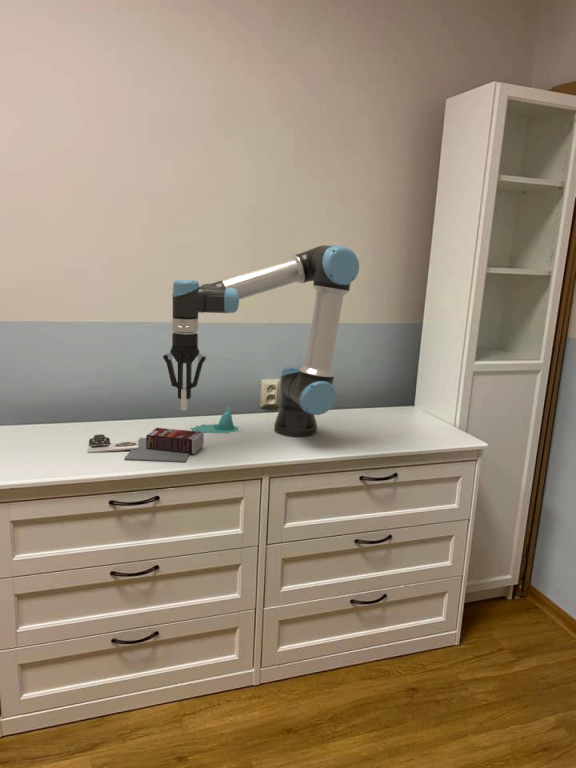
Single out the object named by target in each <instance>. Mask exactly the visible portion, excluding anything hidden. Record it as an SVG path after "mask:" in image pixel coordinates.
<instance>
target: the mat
mask: <svg viewBox="0 0 576 768" xmlns="http://www.w3.org/2000/svg"><path fill="white" fill-rule="evenodd" d="M137 441H138V444H139V449H133V450H129V452H128V453H127V454H126V455H125V457H124V459H123V460H124V461H133V462H134V461H137V462H138V461H139V462H140V461H141V462H161V463H163V462H164V463H165V462H166V463H186V462H187V461H188V458H189V457H190V454H191V453H184V452H175V451H165V450H155V449H147V448H146V437H140V438H139V439H138V440H137Z"/></svg>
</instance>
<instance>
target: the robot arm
mask: <svg viewBox="0 0 576 768" xmlns="http://www.w3.org/2000/svg"><path fill="white" fill-rule="evenodd" d="M358 258H359V257H357V255H356V253H355V252H354V251H353V250H352V249H350V248H348V247H346V246H343V245H336V244H333V245H318V246H316V247H313V248H310V249H308V250H305V251H303V252H300V253H298V254H293V255H292V257H291V258H290V259H288V260H285V261H282V262H278V263H275V264H272V265H267V266H265V267H262V268H259V269H254V270H252V271H248V272H245V273H242V274H239V275H235V276H231V277H228V278H225V279H222V280H219V281H214V282H212V283H204V284H201V285H200V283H199V281H198V280H195V279H176V280H175V281H173V283H172V284H173V285H172V295H171V296H172V324H171V325H172V327H171V328H172V330H171V331H173V332H172V337H171V341H172V342H171V348H170V351H169V352H167V353H165V354H164V355H163V356H162V358H163V360H164V362H165V363H166V367H167V371H168V375H169V379H170V384H171V387H175V388H176V389H177V399H178V400H179V399H180V411H186V410H187V409H188V400H190V399H192V398H191V397H192V389H194V388H196V387H197V385H198V383H199V379H200V376H201V375H200V374H201V371H202V368H203V364H204V362H205V361H206V360H207V356H206V355H203V354H202V353H200V349H199V343H198V342H199V341H198V340H199V334H198V332H199V313H202V314H203V313H206V314H207V313H209V314H211V313H212V314H218V313H219V314H233V313H236V312H237V311H238V309H239V305H240V300H242V299H245V298H249V297H252V296H255V295H258V294H262V293H264V292H268V291H272V290H274V289H277V288H281V287H285V286H288V285H291V284H294V283H298V284H305V283H308V282H313V285H312V286H313V288H314V290H316V295H315V302H314V306H313V313H312V319H311V326H310V329H309V331H310V332H309V336H308V337H309V338H308V341H307V342H308V344H307V348H306V354H305V355H306V356H305V361H304V365H302V366H301V365H300V366H297V365H296V366H285V367H284V368H282V370H281V376H280V401H279V402H280V403H279V404H280V406H279V410H278V413H277V415H276V418H275V422H274V428H273V429H274V432H275V433H277V434H279V435H283V436H289V437H309V436H313V435H315V434H317V431H318V424H317V420H316V416H320V415H324V414H325V413H327V412H328V411H330V410H331V409H332V408H333V406H334V405H335V402H336V399H337V391H336V388H335V387H334V384H333V383H334V379H335V374H334V372H333V371H332V370H331V369H332V362H333V357H334V351H335V345H336V340H337V339H336V338H337V335H338V328H339V323H340V317H341V310H342V306H343V299H344V296H346V295H347V294H348V293H349V292H350V289H351V283H352V282H354V281H355V280H356V278H357V276H358V274H359V271H360V262H359V259H358ZM173 358H174V360H175V361H176V363H177V377H176V373H175V370H174V364H173V361H172V359H173ZM196 358H197V362H198V363H197V366H196V370H195V374H194V377H193V380H192V366H193V362H194V361H195V360H196ZM184 364H185V368H186V369H185V370H186V372H185V373H186V374H185V375H186V376H185V378H186V380H185V385H186V386H185V387H184Z"/></svg>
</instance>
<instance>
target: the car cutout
mask: <svg viewBox="0 0 576 768" xmlns="http://www.w3.org/2000/svg"><path fill="white" fill-rule="evenodd" d="M133 449H139V444H138V440H135V441H134V440H133V441H122V442H121V441H120V442H119V441H118V442H111V439H110V438H109V437H106V436H105V434H101V433H100V434H95V435H93V437H92V438H89V440H88V448H87V454H92V453H104V452H105V453H106V452H107V453H108V452H117V451H131V450H133Z"/></svg>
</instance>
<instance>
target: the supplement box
mask: <svg viewBox="0 0 576 768" xmlns="http://www.w3.org/2000/svg"><path fill="white" fill-rule="evenodd" d="M204 434H205V433H204V432H198V431H191V430H186V429H184V430H183V429H176V428H175V429H174V428H163V427H156V428H153V430H152V431H150V432H148V433H147V434H146V436H145V438H146V448H147V449H155V450H165V451H175V452H184V453H190V454H193V455H194V454H196V453H197V452H198V451H199V450H200V449H201V448H202V447H204V438H205V437H204Z"/></svg>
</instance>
